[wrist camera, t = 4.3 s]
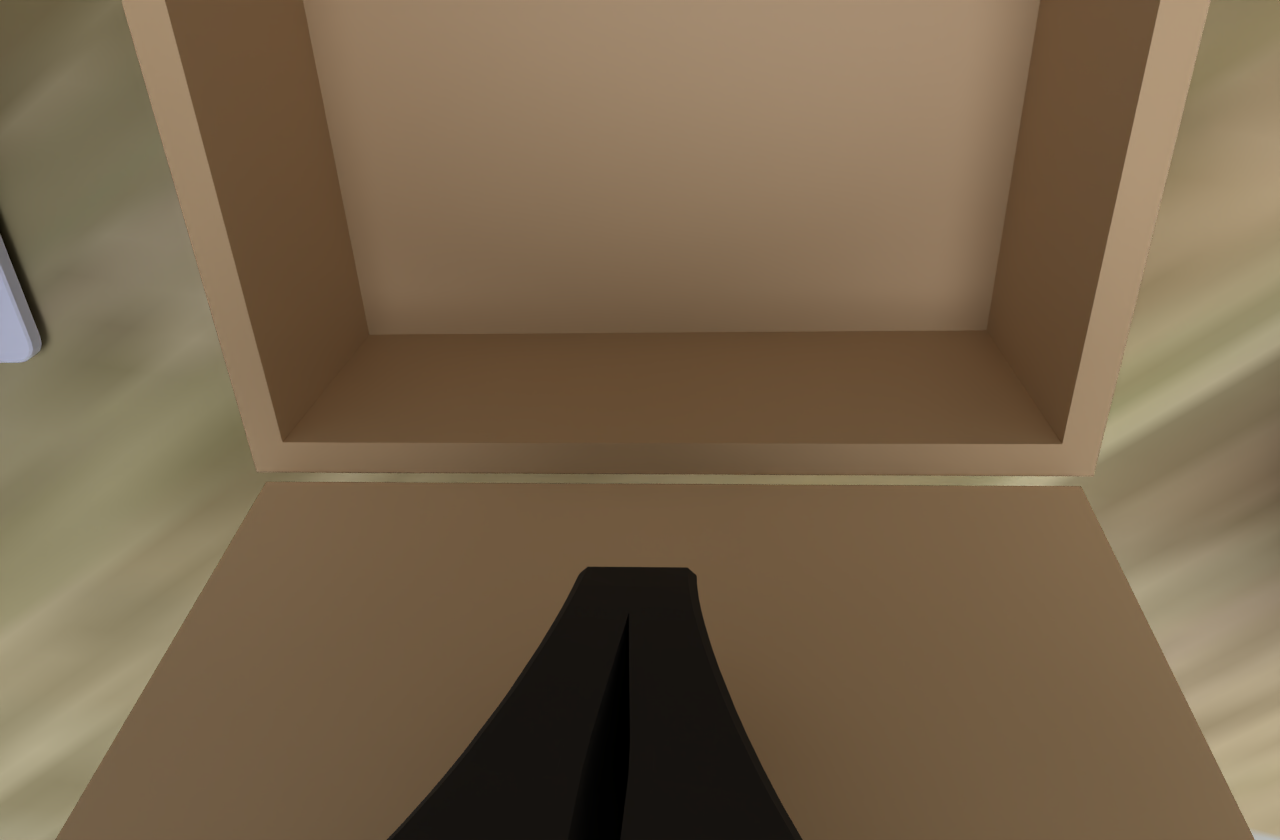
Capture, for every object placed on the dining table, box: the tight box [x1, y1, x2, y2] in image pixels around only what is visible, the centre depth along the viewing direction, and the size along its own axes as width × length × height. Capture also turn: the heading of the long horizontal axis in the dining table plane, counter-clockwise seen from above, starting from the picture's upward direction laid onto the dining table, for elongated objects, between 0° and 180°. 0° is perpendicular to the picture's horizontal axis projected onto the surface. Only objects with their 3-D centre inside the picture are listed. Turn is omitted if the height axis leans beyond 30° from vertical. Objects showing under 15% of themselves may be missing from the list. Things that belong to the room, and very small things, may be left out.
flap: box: [56, 482, 1254, 840], centre depth 12 cm, size 13×7×1 cm
